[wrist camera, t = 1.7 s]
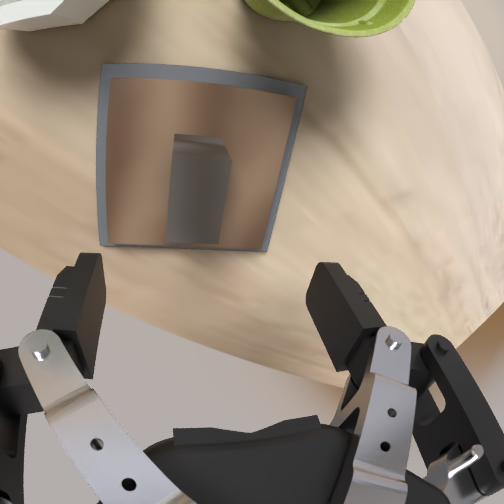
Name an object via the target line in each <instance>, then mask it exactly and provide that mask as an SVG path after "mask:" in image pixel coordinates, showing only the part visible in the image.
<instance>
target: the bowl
mask: <svg viewBox="0 0 504 504" xmlns="http://www.w3.org/2000/svg"><path fill="white" fill-rule="evenodd" d="M108 1H110V0H0V29H7V30H20V31H34V30H40V29H46V28H52V27H59V26H67V25H76V24H83V23H84V22H85V21H86V20H87V19H88V18H89V17H90V16H92V15H93V14H94V13H95V12H96V11H97V10H99V9H100V8H101V7H102V6H103V5H105V4H106V3H107V2H108Z"/></svg>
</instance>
